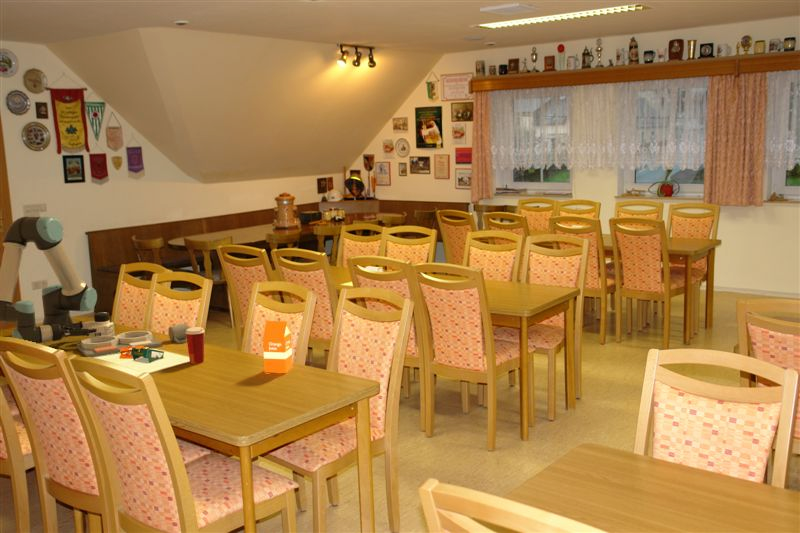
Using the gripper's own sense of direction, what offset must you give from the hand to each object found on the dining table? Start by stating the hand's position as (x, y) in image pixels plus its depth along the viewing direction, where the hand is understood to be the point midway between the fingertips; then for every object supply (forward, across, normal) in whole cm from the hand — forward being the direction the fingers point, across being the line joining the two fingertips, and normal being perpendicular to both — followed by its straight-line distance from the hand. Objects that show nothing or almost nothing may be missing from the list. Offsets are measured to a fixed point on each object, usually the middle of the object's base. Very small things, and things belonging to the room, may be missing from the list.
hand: (100, 326), depth 358 cm
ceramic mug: (+30, +23, -7) cm, 39 cm away
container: (+1, -1, -7) cm, 7 cm away
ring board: (+4, +17, -7) cm, 19 cm away
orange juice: (+47, +97, -7) cm, 108 cm away
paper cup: (+24, +64, -7) cm, 69 cm away
